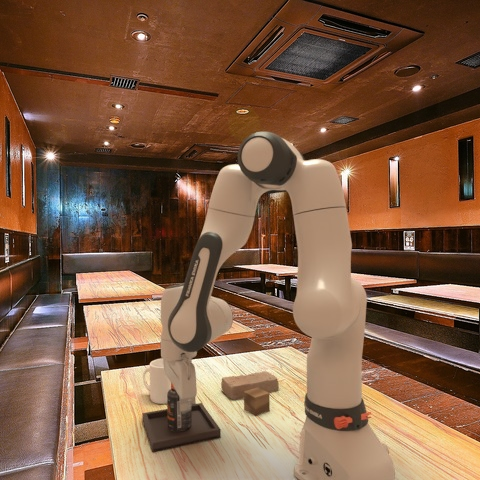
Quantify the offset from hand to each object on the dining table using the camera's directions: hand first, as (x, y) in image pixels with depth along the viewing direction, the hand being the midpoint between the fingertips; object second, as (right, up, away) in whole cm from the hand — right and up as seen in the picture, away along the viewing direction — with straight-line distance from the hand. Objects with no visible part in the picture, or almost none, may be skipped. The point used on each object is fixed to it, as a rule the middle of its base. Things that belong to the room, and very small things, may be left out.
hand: (179, 403), depth 96 cm
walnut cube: (+20, -6, +10) cm, 23 cm away
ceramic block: (-1, -6, +12) cm, 14 cm away
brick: (+18, -7, +24) cm, 31 cm away
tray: (0, -6, 0) cm, 6 cm away
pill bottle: (0, -6, 0) cm, 6 cm away
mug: (-9, -7, +19) cm, 22 cm away
